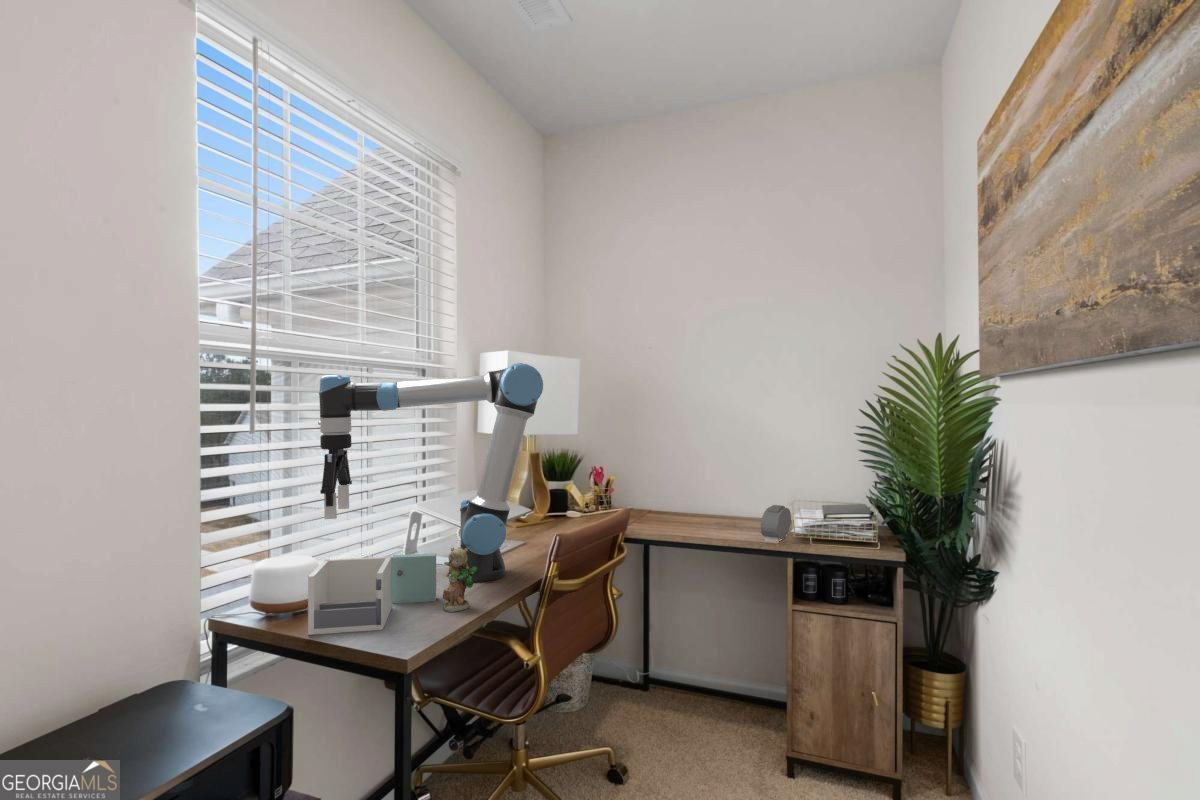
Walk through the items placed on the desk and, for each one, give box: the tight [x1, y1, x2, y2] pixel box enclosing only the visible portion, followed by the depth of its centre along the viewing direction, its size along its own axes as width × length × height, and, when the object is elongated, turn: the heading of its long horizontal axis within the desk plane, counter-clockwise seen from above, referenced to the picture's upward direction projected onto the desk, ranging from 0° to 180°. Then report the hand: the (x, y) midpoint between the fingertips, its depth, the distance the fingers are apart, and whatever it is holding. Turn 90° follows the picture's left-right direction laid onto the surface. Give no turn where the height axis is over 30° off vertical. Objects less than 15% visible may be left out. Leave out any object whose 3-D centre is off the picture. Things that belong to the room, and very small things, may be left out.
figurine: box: [442, 547, 478, 613], centre depth 152 cm, size 9×8×15 cm
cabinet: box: [307, 555, 393, 636], centre depth 143 cm, size 16×15×13 cm
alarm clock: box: [759, 504, 792, 542], centre depth 227 cm, size 23×6×13 cm, turn 150°
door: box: [392, 552, 437, 604], centre depth 157 cm, size 11×4×12 cm, turn 101°
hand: (337, 513), depth 158 cm, fingers open, 13 cm apart
